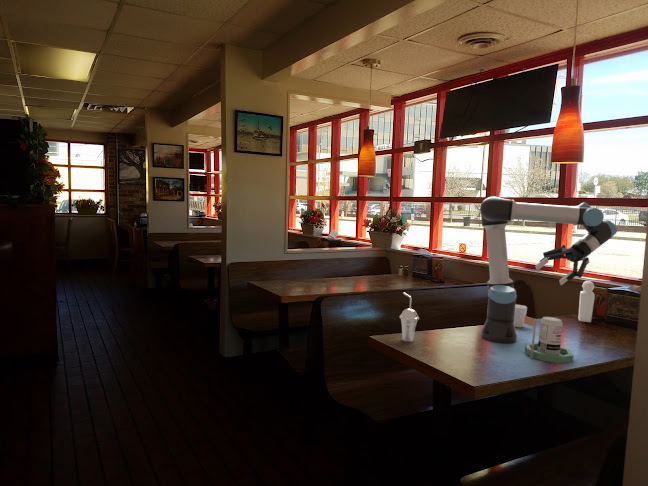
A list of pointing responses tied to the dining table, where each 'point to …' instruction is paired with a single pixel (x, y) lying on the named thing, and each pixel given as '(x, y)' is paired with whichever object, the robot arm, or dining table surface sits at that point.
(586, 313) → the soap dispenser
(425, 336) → the dining table surface
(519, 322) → the white cup
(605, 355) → the dining table surface
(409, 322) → the cup with straw
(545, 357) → the cup
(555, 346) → the supplement can
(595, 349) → the dining table surface
